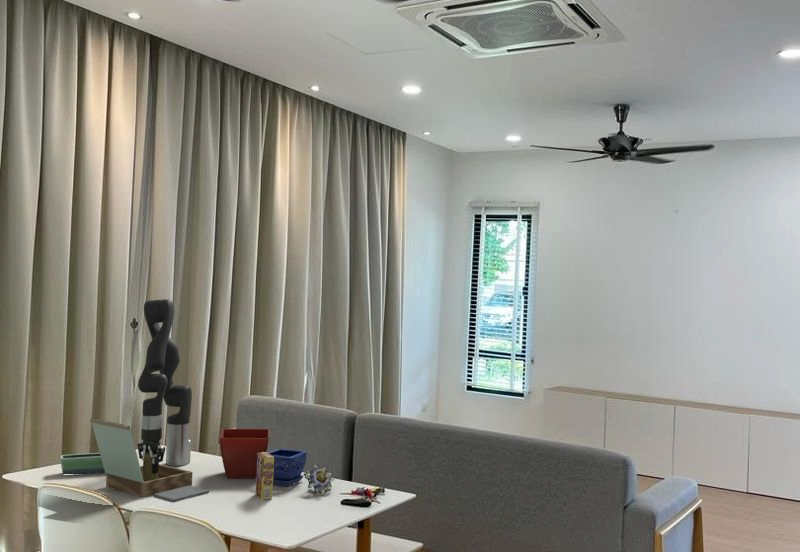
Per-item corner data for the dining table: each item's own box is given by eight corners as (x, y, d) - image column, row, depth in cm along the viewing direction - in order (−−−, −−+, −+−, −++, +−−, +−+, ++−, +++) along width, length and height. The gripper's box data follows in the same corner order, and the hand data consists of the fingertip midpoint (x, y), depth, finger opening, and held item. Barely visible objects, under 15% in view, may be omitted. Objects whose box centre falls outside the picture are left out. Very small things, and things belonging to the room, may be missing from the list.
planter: (132, 468, 316) (133, 450, 316) (134, 472, 309) (134, 454, 309) (59, 473, 305) (60, 454, 305) (59, 477, 298) (60, 458, 298)
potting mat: (189, 487, 287) (189, 485, 287) (209, 492, 281) (209, 490, 281) (153, 496, 274) (154, 494, 274) (174, 501, 268) (174, 499, 268)
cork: (144, 479, 291) (144, 451, 291) (160, 479, 292) (161, 451, 292) (140, 484, 285) (140, 454, 285) (156, 484, 286) (157, 454, 286)
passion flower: (321, 508, 283) (311, 486, 277) (303, 497, 291) (292, 475, 285) (342, 487, 290) (333, 465, 283) (323, 477, 297) (314, 455, 291)
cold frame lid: (92, 418, 280) (89, 419, 279) (129, 425, 268) (127, 426, 267) (106, 472, 285) (104, 473, 284) (143, 481, 273) (141, 483, 272)
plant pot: (267, 480, 301) (268, 437, 301) (218, 481, 298) (219, 437, 298) (268, 469, 320) (269, 428, 320) (221, 469, 317) (222, 428, 317)
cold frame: (154, 475, 303) (155, 463, 303) (192, 485, 291) (192, 471, 291) (106, 486, 285) (106, 473, 285) (143, 497, 273) (143, 483, 273)
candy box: (273, 499, 275) (274, 456, 275) (261, 500, 273) (262, 457, 273) (266, 493, 283) (267, 451, 283) (255, 494, 281) (256, 452, 281)
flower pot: (260, 484, 294) (261, 453, 294) (278, 477, 307) (279, 447, 307) (290, 489, 289) (291, 457, 289) (307, 481, 302) (308, 451, 302)
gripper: (172, 427, 288) (170, 473, 287) (147, 423, 296) (146, 467, 295) (155, 430, 281) (154, 477, 281) (131, 425, 289) (130, 470, 289)
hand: (150, 471), depth 288 cm, fingers closed on cork, 4 cm apart
